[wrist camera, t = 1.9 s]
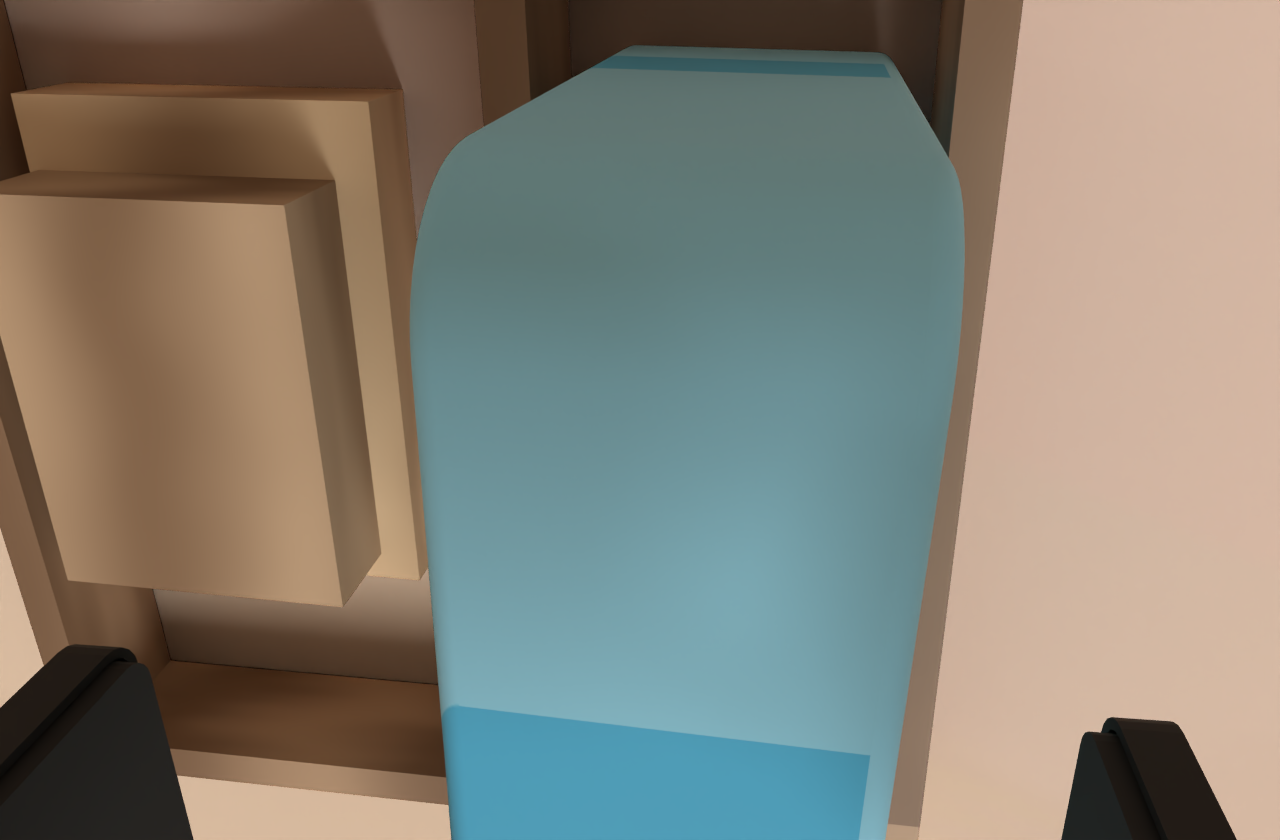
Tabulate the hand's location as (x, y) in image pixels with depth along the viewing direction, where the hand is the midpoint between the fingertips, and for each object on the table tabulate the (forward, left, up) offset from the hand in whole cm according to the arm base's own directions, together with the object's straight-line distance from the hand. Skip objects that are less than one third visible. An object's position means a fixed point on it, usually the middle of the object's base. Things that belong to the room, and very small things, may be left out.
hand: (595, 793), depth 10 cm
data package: (-1, 0, -12) cm, 12 cm away
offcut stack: (+10, 0, -12) cm, 16 cm away
